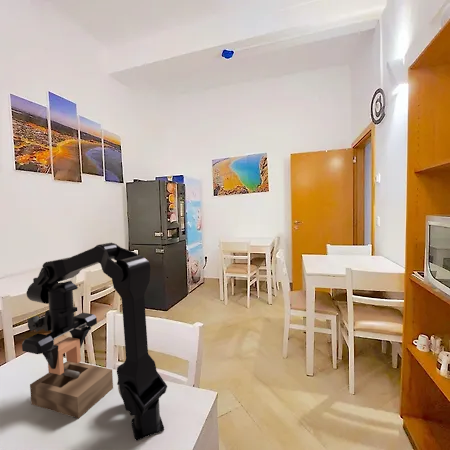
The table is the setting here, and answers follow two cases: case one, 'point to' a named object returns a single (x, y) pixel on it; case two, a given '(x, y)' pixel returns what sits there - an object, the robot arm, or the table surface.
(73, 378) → the wooden divided tray
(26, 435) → the table surface
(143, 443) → the table surface
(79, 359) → the staple
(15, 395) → the table surface
